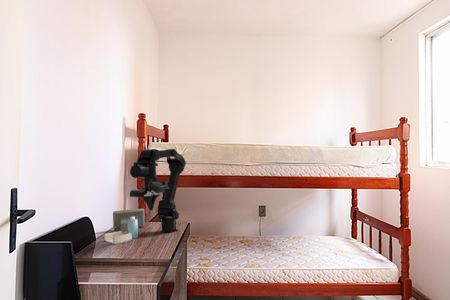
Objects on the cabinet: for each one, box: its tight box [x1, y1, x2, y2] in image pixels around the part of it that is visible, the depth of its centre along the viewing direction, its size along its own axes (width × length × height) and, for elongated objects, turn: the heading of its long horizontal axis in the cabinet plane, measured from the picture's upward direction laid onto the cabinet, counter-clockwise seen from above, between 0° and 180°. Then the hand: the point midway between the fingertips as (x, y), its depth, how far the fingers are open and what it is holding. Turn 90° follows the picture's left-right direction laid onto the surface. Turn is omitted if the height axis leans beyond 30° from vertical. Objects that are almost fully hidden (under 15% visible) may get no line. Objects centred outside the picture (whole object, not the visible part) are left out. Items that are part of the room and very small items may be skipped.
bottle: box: [127, 217, 139, 239], centre depth 146 cm, size 5×5×10 cm
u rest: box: [103, 230, 133, 245], centre depth 140 cm, size 8×10×3 cm
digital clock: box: [112, 208, 145, 232], centre depth 163 cm, size 16×9×11 cm, turn 99°
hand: (151, 210), depth 141 cm, fingers closed
